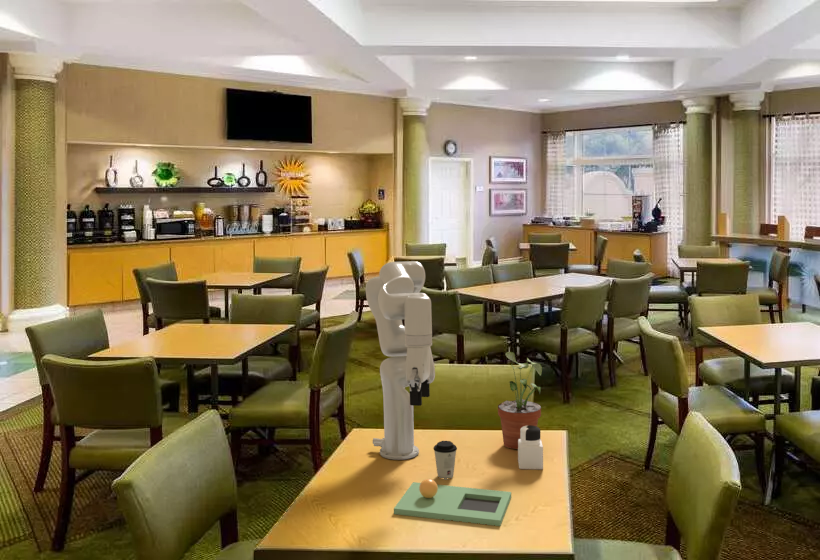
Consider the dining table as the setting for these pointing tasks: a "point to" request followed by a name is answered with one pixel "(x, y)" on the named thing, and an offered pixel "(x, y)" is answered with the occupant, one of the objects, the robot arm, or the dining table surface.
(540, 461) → the medicine bottle
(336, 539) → the dining table surface
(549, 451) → the dining table surface
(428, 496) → the orange ball
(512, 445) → the potted plant
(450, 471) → the coffee cup
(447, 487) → the mat
